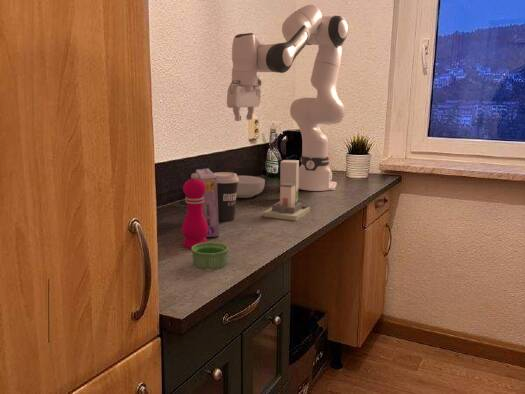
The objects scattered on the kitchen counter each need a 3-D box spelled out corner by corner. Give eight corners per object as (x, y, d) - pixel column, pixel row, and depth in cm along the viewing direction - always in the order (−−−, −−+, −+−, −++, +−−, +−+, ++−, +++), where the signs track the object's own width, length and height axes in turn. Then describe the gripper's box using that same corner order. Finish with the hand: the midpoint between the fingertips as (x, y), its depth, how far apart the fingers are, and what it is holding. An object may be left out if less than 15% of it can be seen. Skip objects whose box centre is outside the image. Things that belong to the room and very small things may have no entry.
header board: (278, 207, 177) (278, 198, 176) (309, 211, 172) (310, 201, 172) (263, 216, 165) (263, 206, 164) (296, 220, 160) (296, 210, 159)
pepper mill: (182, 241, 136) (181, 170, 132) (208, 241, 137) (208, 171, 133) (180, 249, 129) (179, 175, 125) (208, 249, 130) (207, 175, 126)
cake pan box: (195, 221, 157) (195, 167, 153) (211, 220, 158) (211, 167, 154) (202, 239, 139) (201, 178, 135) (219, 238, 140) (219, 177, 136)
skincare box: (295, 203, 185) (297, 162, 181) (278, 202, 186) (279, 161, 182) (298, 198, 193) (299, 159, 189) (282, 197, 194) (283, 159, 190)
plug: (283, 207, 171) (284, 182, 169) (294, 209, 169) (295, 183, 167) (279, 210, 167) (280, 184, 165) (290, 211, 166) (291, 185, 164)
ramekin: (218, 273, 113) (218, 255, 112) (184, 267, 117) (184, 250, 116) (234, 261, 122) (234, 244, 121) (202, 256, 125) (202, 240, 124)
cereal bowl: (246, 202, 184) (246, 184, 183) (214, 196, 194) (214, 179, 193) (272, 195, 198) (273, 178, 196) (241, 190, 207) (241, 173, 206)
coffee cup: (216, 224, 154) (216, 177, 151) (205, 217, 163) (205, 172, 159) (243, 220, 159) (244, 175, 155) (231, 214, 167) (231, 171, 164)
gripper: (239, 80, 162) (238, 122, 165) (263, 81, 180) (263, 119, 183) (222, 79, 164) (222, 121, 167) (248, 81, 182) (247, 118, 185)
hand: (243, 120), depth 175 cm, fingers open, 8 cm apart
